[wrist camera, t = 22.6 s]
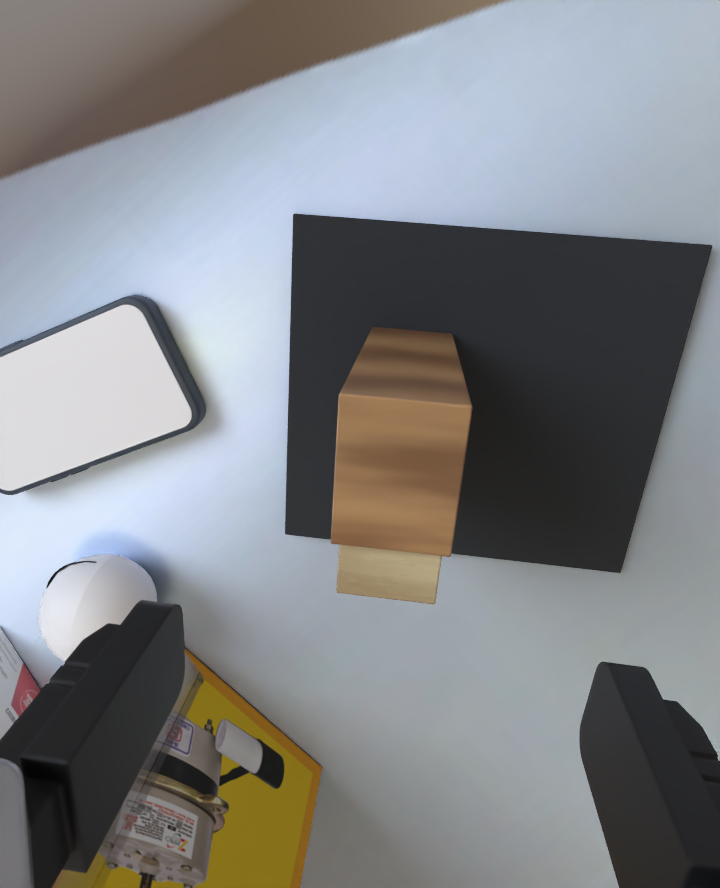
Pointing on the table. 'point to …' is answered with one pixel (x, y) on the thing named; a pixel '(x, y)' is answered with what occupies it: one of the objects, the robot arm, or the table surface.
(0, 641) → the ink cartridge box
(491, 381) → the mat
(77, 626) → the seamed sphere
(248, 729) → the packaging box
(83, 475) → the table surface
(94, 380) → the smartphone
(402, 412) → the tall wood grain block
